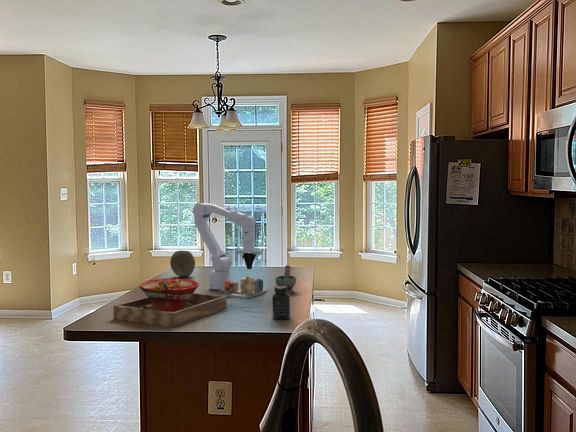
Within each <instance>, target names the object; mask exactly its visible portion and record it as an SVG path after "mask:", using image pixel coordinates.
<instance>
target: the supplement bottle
mask: <svg viewBox="0 0 576 432" xmlns="http://www.w3.org/2000/svg"><path fill="white" fill-rule="evenodd" d="M287 292H288V290H287V286H277V285H276V286H275V287H274V294H273V295H272V297H271V298H272V299H271V300H272V302H271V303H272V305H271V306H272V307H271V308H272V309H271V311H272V318H273V319H274V320H278V321H286V320H289V319H290V318H291V296H290V294H289V293H287Z"/></svg>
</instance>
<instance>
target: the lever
mask: <svg viewBox="0 0 576 432" xmlns="http://www.w3.org/2000/svg"><path fill="white" fill-rule="evenodd" d="M230 280H231V279H230ZM230 280H225V290H222V293H225V294H230V293H232V290H230Z"/></svg>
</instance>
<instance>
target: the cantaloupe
mask: <svg viewBox="0 0 576 432" xmlns="http://www.w3.org/2000/svg"><path fill="white" fill-rule="evenodd" d="M194 257H195V256H194V255H193V254H192V253H191V251H189V250H176V251H175V252H174V253H173V254H172V255H171V257H170V263H169V264H170V268H171V270H172V272H173V273H174V274H175V275H176V276H178V277H180V278H188V277H190V276H191V275H192V274H193V272H194V270H195V267H196V260H195V258H194Z"/></svg>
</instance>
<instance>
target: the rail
mask: <svg viewBox="0 0 576 432" xmlns="http://www.w3.org/2000/svg"><path fill="white" fill-rule="evenodd" d="M219 296H227V298H235V299H236V298H238V299H247V300H248V299H252V297H253V296H252V294H251V292H249V293H246V295H243V294H234V293H230V294H225V293H222V290H219Z"/></svg>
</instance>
